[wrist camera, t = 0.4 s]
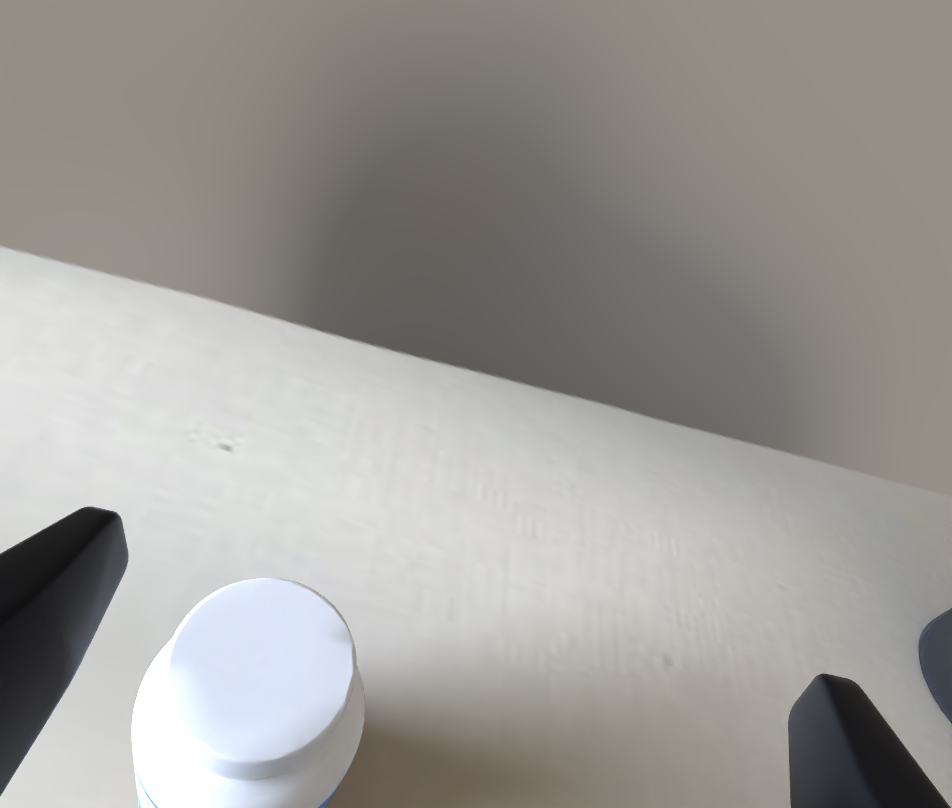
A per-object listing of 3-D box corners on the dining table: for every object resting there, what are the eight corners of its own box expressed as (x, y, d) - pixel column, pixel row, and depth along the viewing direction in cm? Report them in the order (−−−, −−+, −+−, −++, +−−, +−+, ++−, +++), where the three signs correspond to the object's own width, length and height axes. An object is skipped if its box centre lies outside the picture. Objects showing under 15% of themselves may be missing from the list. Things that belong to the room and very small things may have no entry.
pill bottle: (344, 718, 25) (420, 590, 18) (290, 906, 21) (358, 839, 14) (185, 670, 24) (198, 519, 17) (100, 856, 20) (72, 760, 13)
